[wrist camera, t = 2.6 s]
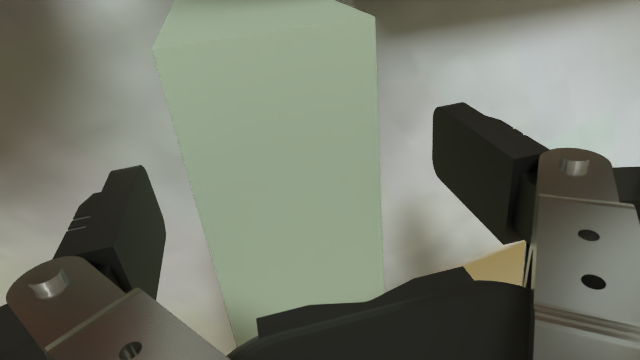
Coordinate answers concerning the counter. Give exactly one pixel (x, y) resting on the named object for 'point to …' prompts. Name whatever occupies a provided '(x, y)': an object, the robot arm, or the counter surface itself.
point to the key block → (279, 148)
